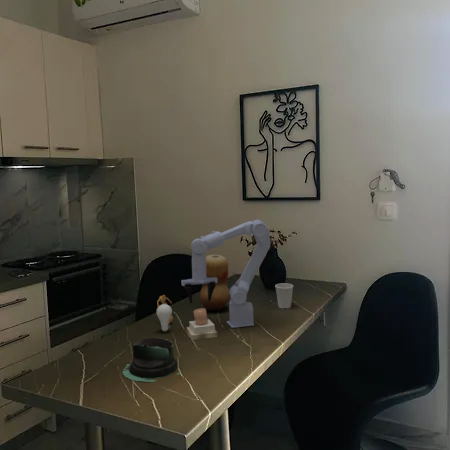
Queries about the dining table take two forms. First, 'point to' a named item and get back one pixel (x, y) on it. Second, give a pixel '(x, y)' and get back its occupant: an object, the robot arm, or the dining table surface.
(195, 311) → the terracotta cylinder
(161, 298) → the figurine
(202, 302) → the butternut squash
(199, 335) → the birch slab
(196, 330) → the cream slab
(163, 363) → the black hat
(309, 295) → the dining table surface
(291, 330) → the dining table surface
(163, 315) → the lightbulb
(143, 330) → the dining table surface
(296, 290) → the dining table surface
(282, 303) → the dixie cup
